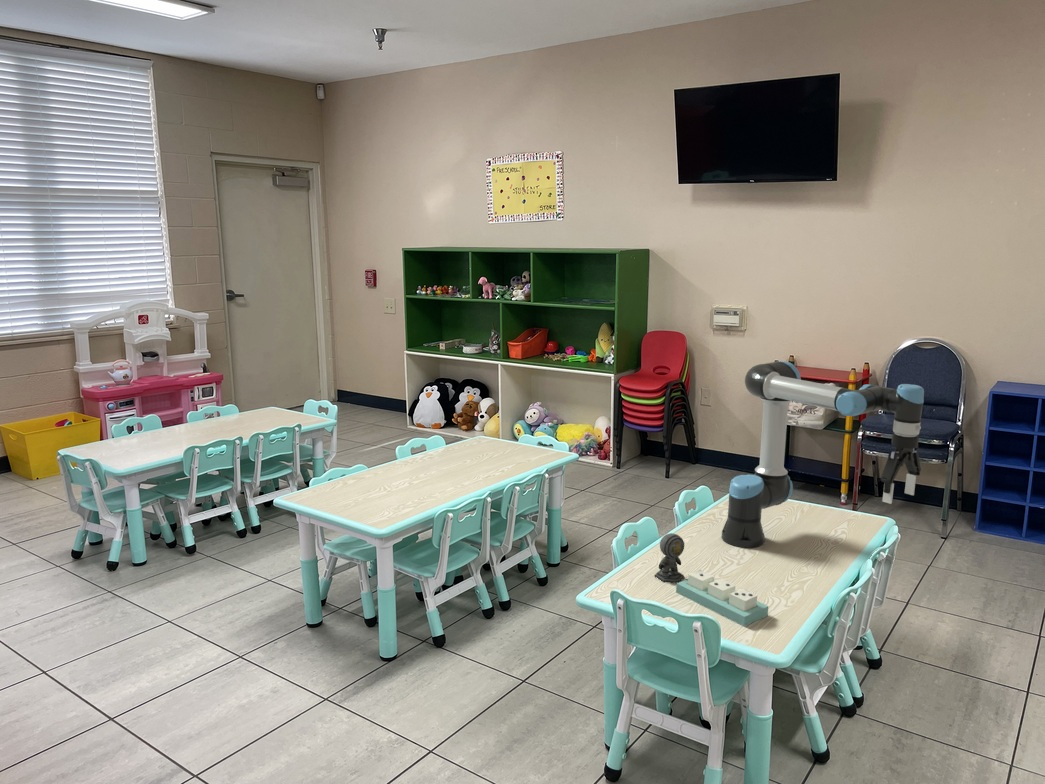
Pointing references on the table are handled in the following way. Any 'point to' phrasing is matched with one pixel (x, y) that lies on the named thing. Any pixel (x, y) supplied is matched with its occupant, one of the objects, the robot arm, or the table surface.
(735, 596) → the tile
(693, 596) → the board
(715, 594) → the tile
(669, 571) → the figurine
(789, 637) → the table surface
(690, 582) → the tile
